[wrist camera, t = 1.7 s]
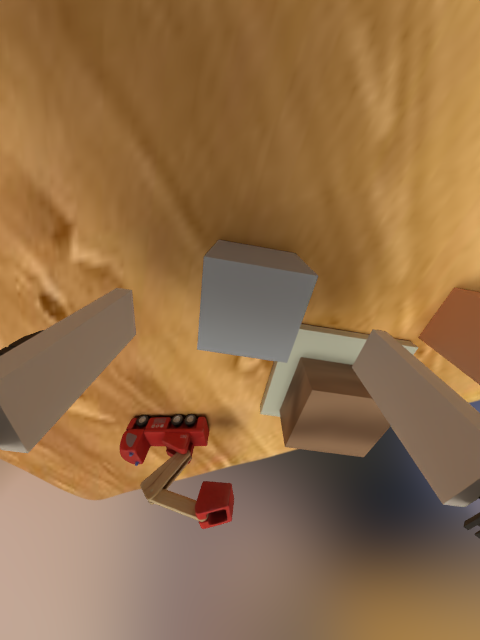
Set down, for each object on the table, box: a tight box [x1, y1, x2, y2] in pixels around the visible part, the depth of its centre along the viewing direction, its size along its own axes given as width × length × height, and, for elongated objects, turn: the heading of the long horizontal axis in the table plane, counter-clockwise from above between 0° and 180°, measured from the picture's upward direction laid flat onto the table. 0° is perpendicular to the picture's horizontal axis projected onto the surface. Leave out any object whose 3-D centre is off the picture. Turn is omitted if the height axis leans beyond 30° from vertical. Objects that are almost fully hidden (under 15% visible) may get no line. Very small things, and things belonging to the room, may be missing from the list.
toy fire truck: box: [120, 414, 234, 529], centre depth 22 cm, size 3×14×10 cm, turn 94°
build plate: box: [260, 324, 418, 417], centre depth 21 cm, size 12×12×1 cm
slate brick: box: [197, 240, 318, 363], centre depth 15 cm, size 6×6×6 cm
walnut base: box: [280, 357, 391, 457], centre depth 20 cm, size 8×8×4 cm
